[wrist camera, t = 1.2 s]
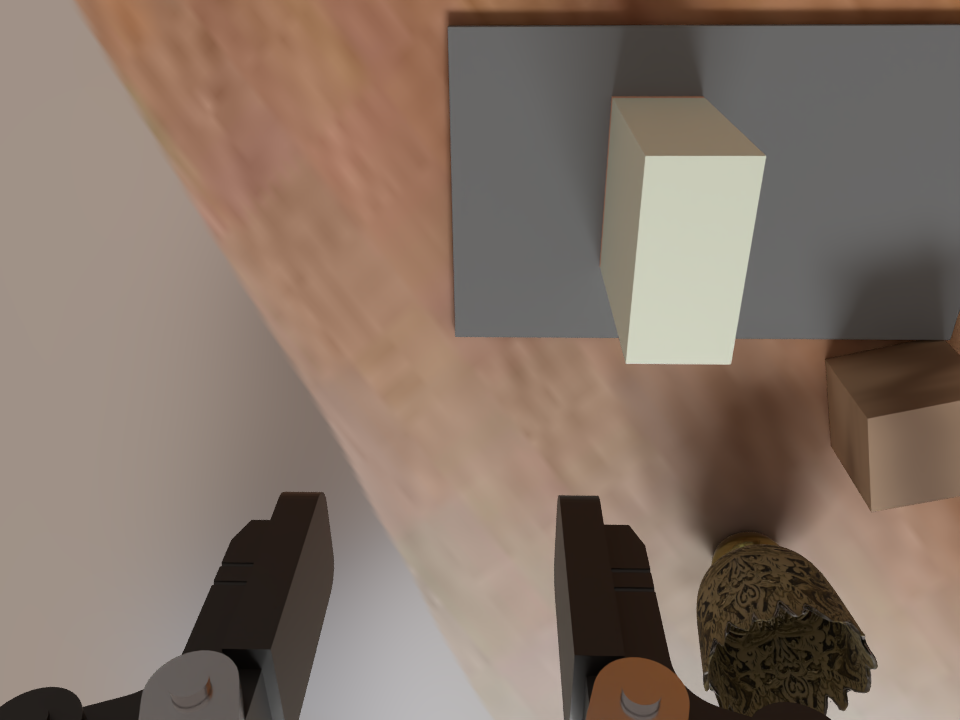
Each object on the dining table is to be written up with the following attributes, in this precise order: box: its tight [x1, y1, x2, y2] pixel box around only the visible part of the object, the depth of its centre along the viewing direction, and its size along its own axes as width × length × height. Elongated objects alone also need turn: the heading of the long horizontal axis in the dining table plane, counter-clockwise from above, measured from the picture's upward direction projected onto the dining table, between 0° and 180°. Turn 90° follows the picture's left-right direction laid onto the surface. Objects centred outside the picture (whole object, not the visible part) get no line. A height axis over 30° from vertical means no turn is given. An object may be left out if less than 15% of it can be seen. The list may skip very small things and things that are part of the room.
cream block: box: [600, 96, 766, 364], centre depth 29 cm, size 4×7×8 cm, turn 1°
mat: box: [448, 24, 960, 340], centre depth 33 cm, size 22×13×1 cm, turn 90°
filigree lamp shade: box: [697, 532, 878, 717], centre depth 39 cm, size 8×7×8 cm
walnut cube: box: [825, 340, 960, 512], centre depth 35 cm, size 5×5×5 cm
